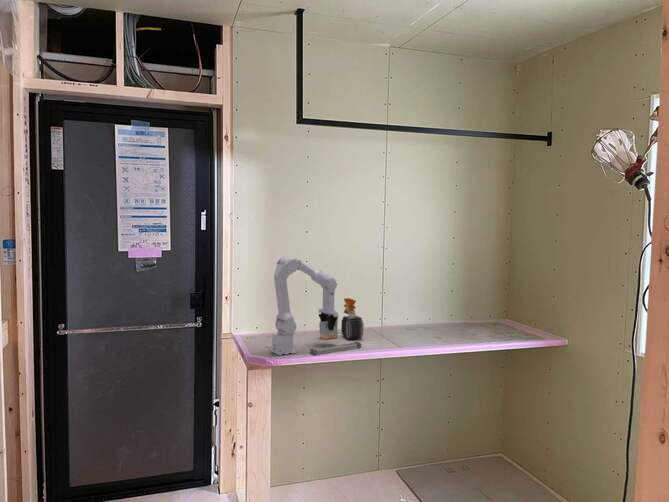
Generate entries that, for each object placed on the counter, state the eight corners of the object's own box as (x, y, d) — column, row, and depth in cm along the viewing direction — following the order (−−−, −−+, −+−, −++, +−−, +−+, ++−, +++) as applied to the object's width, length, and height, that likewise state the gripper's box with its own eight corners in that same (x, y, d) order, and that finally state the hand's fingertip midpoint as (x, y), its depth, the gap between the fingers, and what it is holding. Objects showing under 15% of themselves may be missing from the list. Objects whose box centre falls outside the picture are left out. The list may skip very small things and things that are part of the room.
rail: (314, 355, 215) (314, 350, 215) (310, 353, 219) (310, 348, 219) (361, 348, 230) (361, 343, 230) (356, 346, 233) (356, 341, 233)
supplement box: (324, 339, 246) (325, 314, 245) (319, 338, 250) (320, 313, 249) (337, 338, 251) (338, 313, 250) (332, 336, 254) (332, 312, 254)
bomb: (349, 340, 244) (350, 302, 243) (339, 335, 257) (340, 298, 256) (363, 339, 247) (364, 301, 246) (352, 334, 260) (353, 298, 259)
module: (325, 334, 230) (325, 323, 230) (319, 332, 234) (319, 321, 234) (337, 333, 234) (337, 321, 234) (331, 331, 238) (331, 320, 238)
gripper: (343, 303, 229) (343, 331, 230) (327, 299, 241) (326, 325, 242) (331, 304, 225) (330, 332, 226) (315, 300, 238) (315, 327, 238)
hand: (327, 329), depth 234 cm, fingers closed on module, 5 cm apart
